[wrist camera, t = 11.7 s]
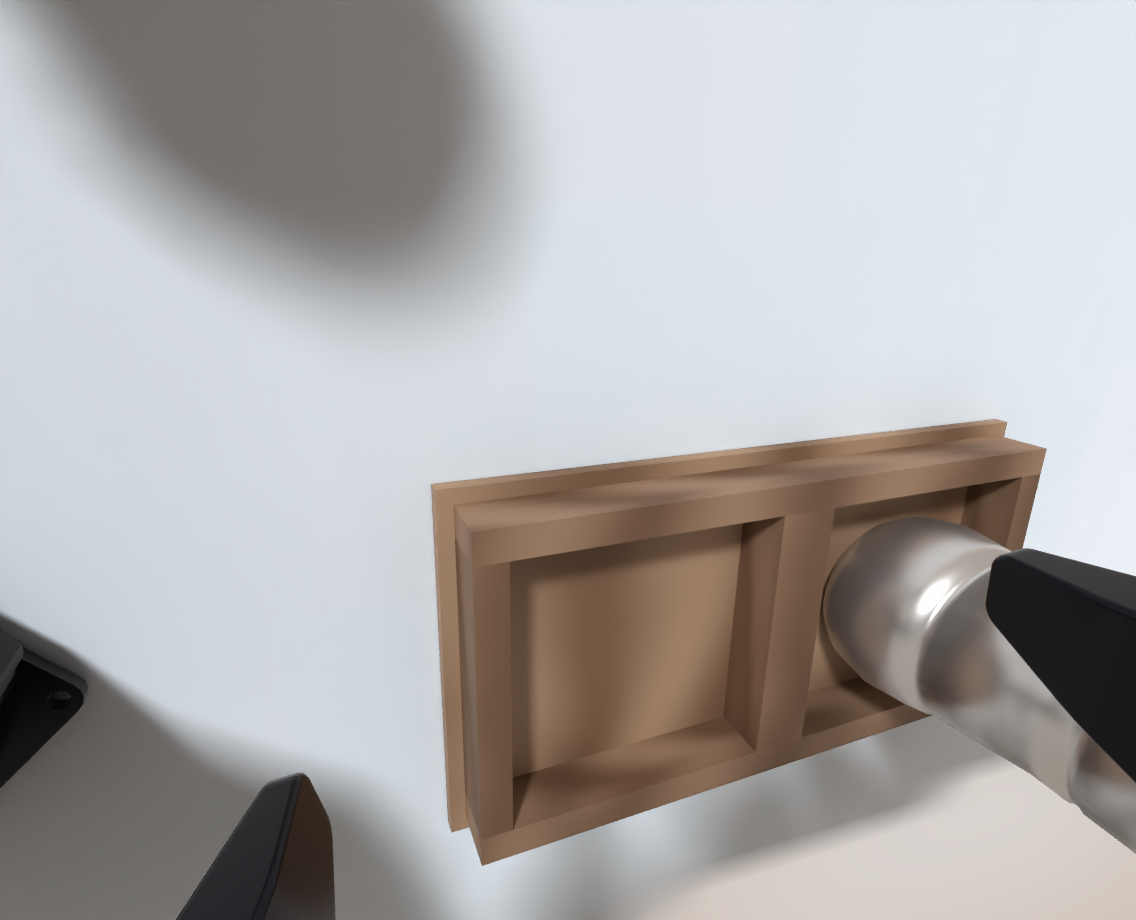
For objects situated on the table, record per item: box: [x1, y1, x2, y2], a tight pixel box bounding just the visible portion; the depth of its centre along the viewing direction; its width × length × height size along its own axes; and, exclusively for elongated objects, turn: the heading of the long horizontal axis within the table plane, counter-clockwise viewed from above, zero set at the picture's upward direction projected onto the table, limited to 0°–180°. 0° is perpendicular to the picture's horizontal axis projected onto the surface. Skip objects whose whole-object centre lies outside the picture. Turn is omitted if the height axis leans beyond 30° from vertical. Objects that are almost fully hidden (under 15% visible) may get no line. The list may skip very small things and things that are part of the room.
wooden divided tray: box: [431, 419, 1046, 866], centre depth 24 cm, size 23×12×2 cm, turn 90°
